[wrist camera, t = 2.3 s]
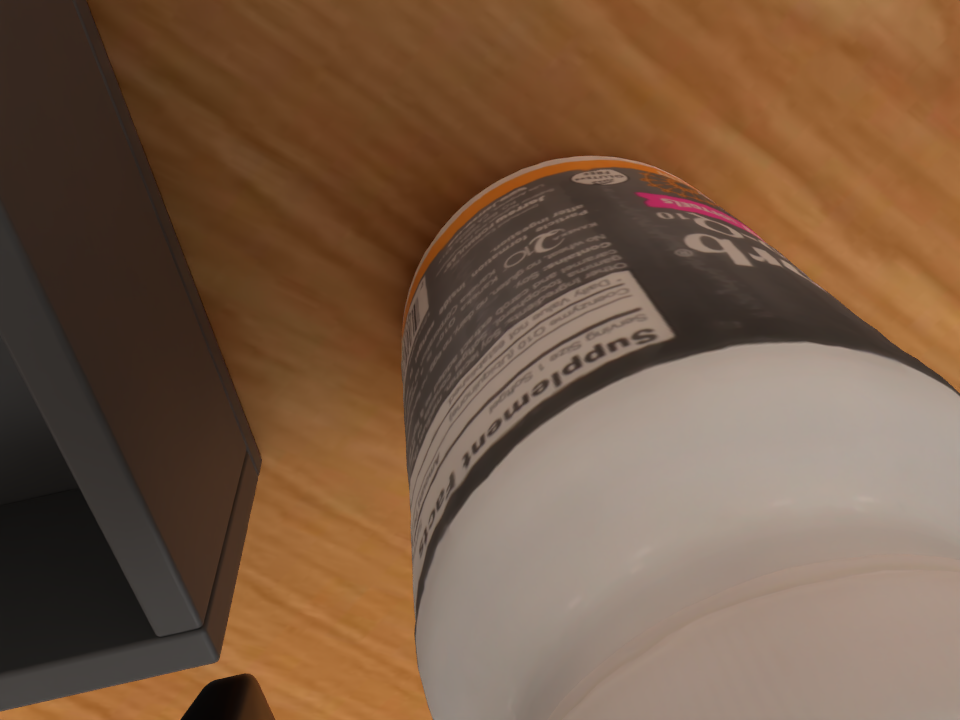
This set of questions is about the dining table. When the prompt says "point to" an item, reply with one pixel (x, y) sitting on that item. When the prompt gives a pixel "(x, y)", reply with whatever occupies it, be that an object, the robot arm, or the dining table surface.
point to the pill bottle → (667, 470)
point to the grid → (102, 390)
